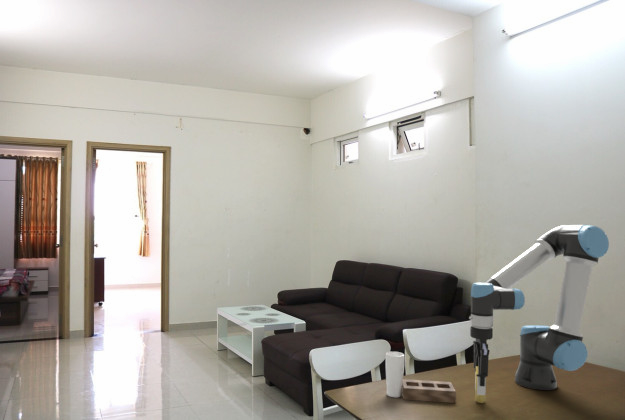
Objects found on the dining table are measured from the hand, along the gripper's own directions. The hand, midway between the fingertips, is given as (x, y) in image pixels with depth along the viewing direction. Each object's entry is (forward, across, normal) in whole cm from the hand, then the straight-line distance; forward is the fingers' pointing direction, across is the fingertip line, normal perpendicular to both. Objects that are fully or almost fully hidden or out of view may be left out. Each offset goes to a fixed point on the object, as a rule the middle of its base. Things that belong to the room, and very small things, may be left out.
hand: (480, 392), depth 174 cm
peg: (+3, 0, 0) cm, 3 cm away
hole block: (+3, -2, -18) cm, 18 cm away
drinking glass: (+3, 0, -30) cm, 30 cm away
